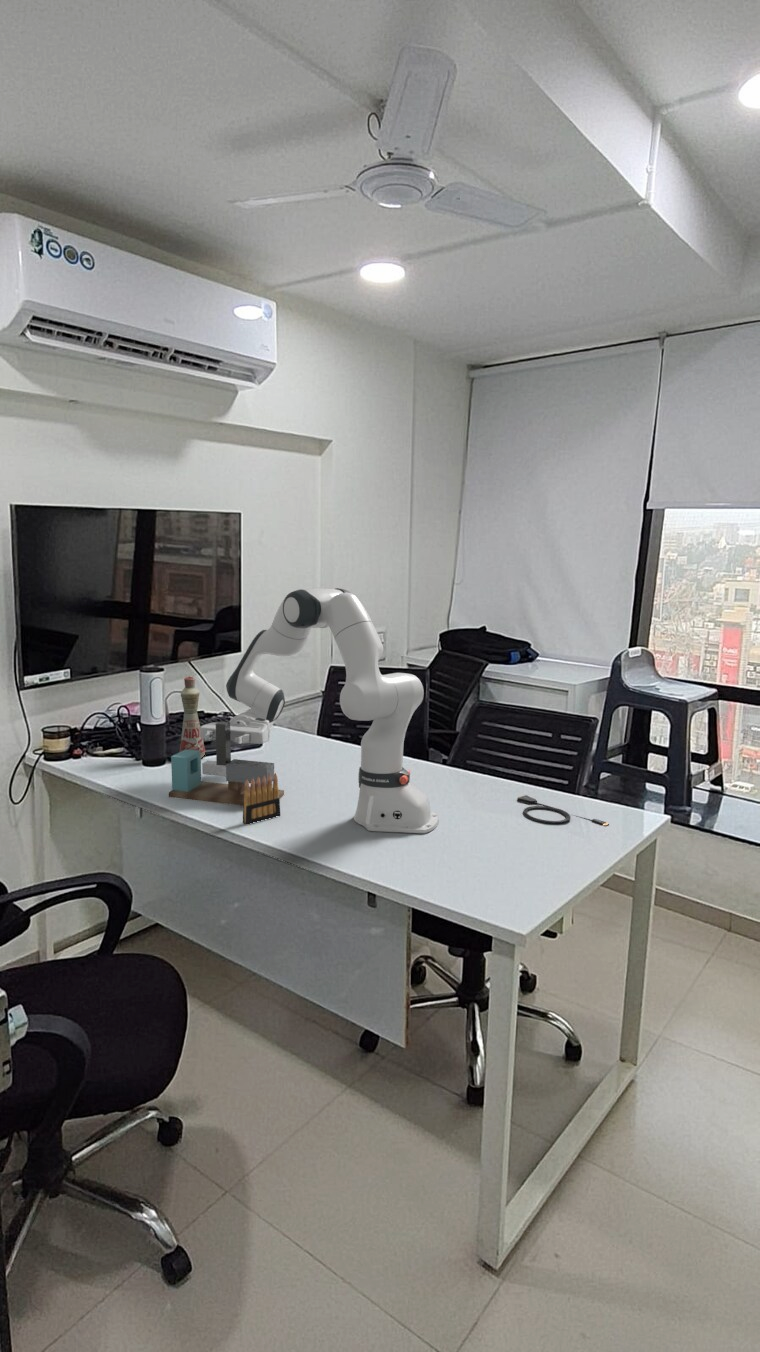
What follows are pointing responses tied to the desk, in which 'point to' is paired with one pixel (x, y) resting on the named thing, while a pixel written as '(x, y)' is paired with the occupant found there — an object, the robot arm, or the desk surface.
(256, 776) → the outer sleeve
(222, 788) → the base board
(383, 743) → the robot arm
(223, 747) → the dark grey upright post
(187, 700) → the bottle
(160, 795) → the desk surface
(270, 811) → the ammunition clip
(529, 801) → the cable
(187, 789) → the socket block
